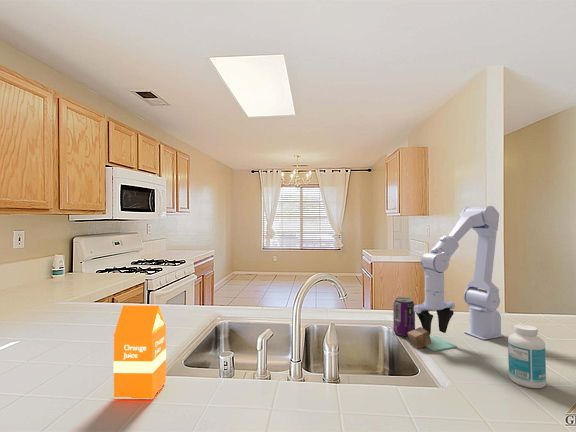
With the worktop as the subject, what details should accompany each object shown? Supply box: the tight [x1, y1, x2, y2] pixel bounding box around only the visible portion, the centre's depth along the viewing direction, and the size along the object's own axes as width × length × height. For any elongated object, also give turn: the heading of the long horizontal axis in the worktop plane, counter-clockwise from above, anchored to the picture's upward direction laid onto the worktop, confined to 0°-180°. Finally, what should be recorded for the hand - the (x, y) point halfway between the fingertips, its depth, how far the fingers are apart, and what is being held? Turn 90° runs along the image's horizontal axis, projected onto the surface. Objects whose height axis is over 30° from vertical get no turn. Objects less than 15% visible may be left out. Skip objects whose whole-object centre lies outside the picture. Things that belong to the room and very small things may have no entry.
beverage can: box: [392, 296, 416, 337], centre depth 115 cm, size 7×7×12 cm
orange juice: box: [113, 304, 167, 398], centre depth 77 cm, size 8×9×20 cm
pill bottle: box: [507, 323, 547, 389], centre depth 81 cm, size 8×7×14 cm
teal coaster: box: [424, 336, 458, 352], centre depth 106 cm, size 9×9×1 cm
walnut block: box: [407, 326, 431, 350], centre depth 104 cm, size 4×4×5 cm
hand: (434, 333), depth 106 cm, fingers open, 6 cm apart
